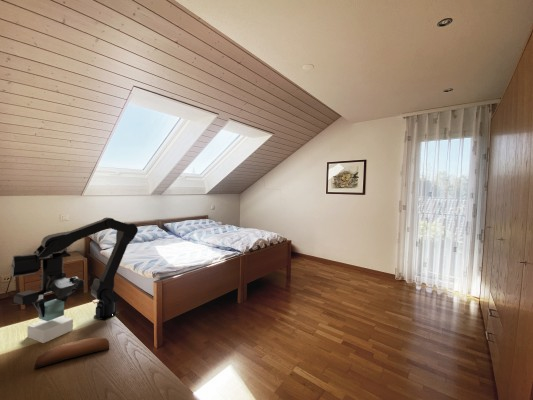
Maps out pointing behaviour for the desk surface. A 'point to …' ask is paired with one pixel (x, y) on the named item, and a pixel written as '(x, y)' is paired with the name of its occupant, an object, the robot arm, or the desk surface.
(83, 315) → the desk surface
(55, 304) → the teal cube
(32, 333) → the large white block
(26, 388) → the desk surface
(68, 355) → the sunglasses case
